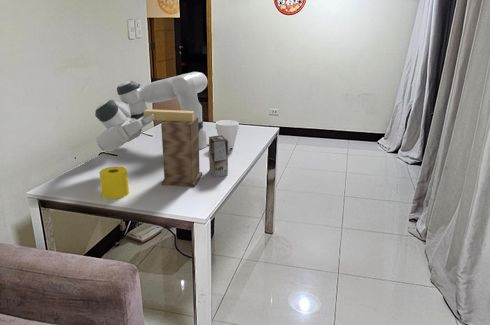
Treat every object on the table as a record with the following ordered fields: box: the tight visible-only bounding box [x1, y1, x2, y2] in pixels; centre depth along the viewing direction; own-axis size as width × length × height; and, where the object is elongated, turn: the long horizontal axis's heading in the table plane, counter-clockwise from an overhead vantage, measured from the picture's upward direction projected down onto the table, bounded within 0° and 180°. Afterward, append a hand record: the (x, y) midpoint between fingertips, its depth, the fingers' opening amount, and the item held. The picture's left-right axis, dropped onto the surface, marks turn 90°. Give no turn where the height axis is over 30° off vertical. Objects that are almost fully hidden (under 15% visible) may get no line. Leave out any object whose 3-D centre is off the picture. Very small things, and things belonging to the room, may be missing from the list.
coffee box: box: [208, 135, 229, 178], centre depth 177 cm, size 9×6×16 cm
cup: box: [215, 119, 240, 150], centre depth 214 cm, size 12×12×14 cm
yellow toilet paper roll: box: [99, 166, 130, 200], centre depth 156 cm, size 10×10×9 cm
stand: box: [160, 117, 203, 188], centre depth 168 cm, size 14×14×26 cm
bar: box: [144, 108, 195, 122], centre depth 163 cm, size 20×4×4 cm, turn 83°
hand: (157, 113), depth 164 cm, fingers open, 7 cm apart
